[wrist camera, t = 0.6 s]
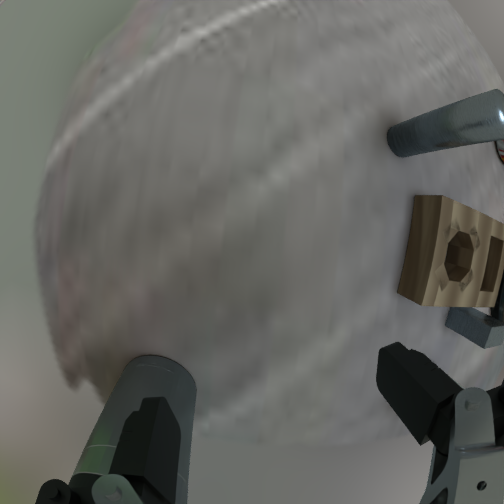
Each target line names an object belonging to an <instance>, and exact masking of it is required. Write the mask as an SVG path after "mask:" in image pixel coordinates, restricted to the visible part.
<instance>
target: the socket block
mask: <svg viewBox="0 0 504 504" xmlns="http://www.w3.org/2000/svg"><path fill="white" fill-rule="evenodd" d="M448 244H449V245H448ZM447 247H448V251H447ZM446 252H447V256H446ZM445 257H446V261H445ZM444 262H445V263H444ZM503 270H504V224H502V223H501V222H499V221H497V220H495V219H493V218H491V217H489V216H487V215H485V214H483V213H481V212H479V211H477V210H474V209H472V208H470V207H468V206H466V205H464V204H461V203H459V202H457V201H454V200H452V199H450V198H447V197H445V196H443V195H415V200H414V208H413V215H412V222H411V229H410V235H409V241H408V246H407V252H406V257H405V262H404V266H403V271H402V275H401V279H400V284H399V288H398V292H397V293H399V294H400V295H402V296H404V297H406V298H408V299H410V300H412V301H413V302H415V303H417V304H419V305H421V306H439V307H494V306H495V302H496V299H497V295H498V291H499V287H500V283H501V279H502V274H503Z"/></svg>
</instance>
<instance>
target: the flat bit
mask: <svg viewBox="0 0 504 504" xmlns="http://www.w3.org/2000/svg"><path fill="white" fill-rule="evenodd" d="M445 326H447V327H448V328H450V329H452V330H454V331H455V332H457V333H459V334H460V335H462V336H464V337H465V338H467V339H469V340H470V341H472V342H474V343H475V344H477V345H478V346H480V347H482V348H483V349H486V348H490V347H494V346H498V345H502V342H503V339H504V323H503V322H501V321H499V320H497V319H495V318H493V317H491V316H489V315H487V314H485V313H483V312H481V311H478V310H476V309H474V308H472V307H450V310H449V313H448V317H447V320H446V323H445Z"/></svg>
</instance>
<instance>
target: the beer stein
mask: <svg viewBox="0 0 504 504" xmlns="http://www.w3.org/2000/svg"><path fill="white" fill-rule="evenodd" d="M491 316H492V317H493V318H495V319H497V320H499V321H501V322H503V323H504V270H503V274H502V279H501V283H500V287H499V291H498V295H497V299H496V302H495V306H494V307H491Z"/></svg>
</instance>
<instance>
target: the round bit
mask: <svg viewBox="0 0 504 504" xmlns="http://www.w3.org/2000/svg"><path fill="white" fill-rule="evenodd" d="M498 140H504V94H503V93H502V92H501V91H500V90H498V89H494V90H491V91H488V92H484V93H481V94H478V95H475V96H472V97H469V98H466V99H463V100H460V101H457V102H454V103H452V104H449V105H446V106H443V107H441V108H438V109H435V110H432V111H430V112H427V113H424V114H422V115H419V116H417V117H414V118H412V119H409V120H407V121H404V122H402V123H399V124H397V125H394V126H392V127H391V128H390V129H389V130H388V133H387V141H388V145H389V147H390V149H391V150H392V152H393V153H394V154H396V155H397V156H399V157H409V156H413V155H418V154H423V153H428V152H433V151H438V150H443V149H449V148H454V147H460V146H466V145H472V144H478V143H484V142H491V141H498Z"/></svg>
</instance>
